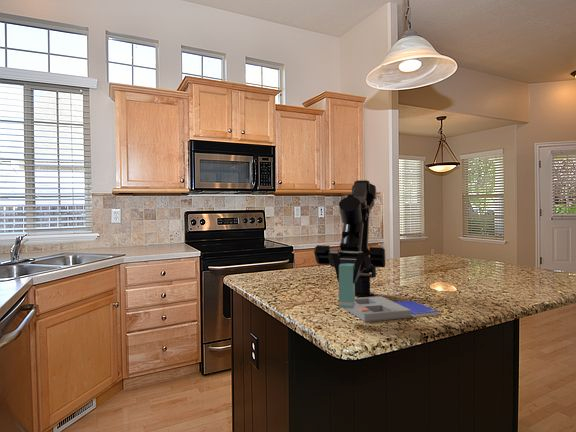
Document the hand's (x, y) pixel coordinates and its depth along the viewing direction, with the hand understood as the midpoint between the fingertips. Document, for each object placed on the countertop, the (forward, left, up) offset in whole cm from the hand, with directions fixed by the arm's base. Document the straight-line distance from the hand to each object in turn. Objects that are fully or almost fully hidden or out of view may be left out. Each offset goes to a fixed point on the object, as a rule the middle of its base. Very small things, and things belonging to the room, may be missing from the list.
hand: (346, 282), depth 93 cm
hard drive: (-7, +25, -12) cm, 28 cm away
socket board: (-8, +12, -11) cm, 19 cm away
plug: (-1, +1, -7) cm, 7 cm away
